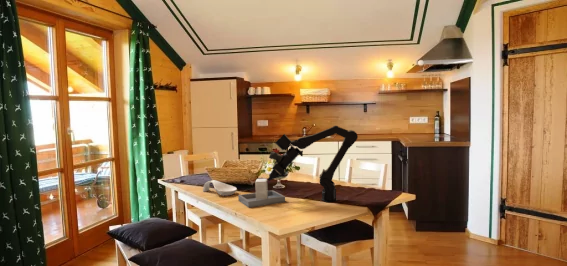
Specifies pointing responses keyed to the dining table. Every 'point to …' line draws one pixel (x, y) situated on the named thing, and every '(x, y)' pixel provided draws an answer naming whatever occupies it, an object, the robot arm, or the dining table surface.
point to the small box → (261, 189)
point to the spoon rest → (220, 188)
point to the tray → (251, 200)
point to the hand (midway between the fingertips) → (269, 178)
